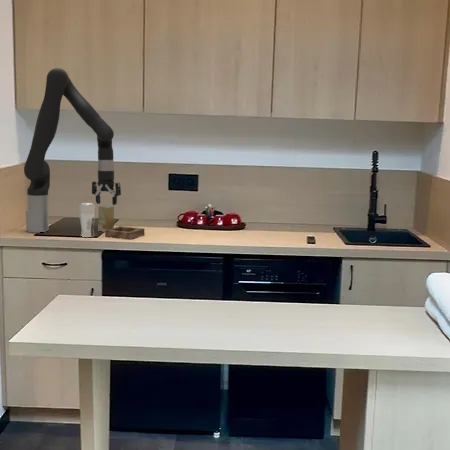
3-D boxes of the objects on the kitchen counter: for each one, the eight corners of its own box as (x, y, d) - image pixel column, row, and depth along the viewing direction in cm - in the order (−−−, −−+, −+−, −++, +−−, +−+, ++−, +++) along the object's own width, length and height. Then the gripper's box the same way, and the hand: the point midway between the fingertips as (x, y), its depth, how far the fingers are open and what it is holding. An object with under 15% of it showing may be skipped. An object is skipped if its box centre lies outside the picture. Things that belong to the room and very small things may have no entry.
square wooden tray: (105, 236, 280) (105, 229, 280) (119, 232, 292) (119, 225, 292) (130, 239, 276) (130, 232, 275) (144, 235, 288) (144, 228, 287)
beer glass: (97, 235, 283) (97, 203, 280) (92, 238, 276) (92, 205, 273) (82, 234, 283) (82, 202, 281) (77, 237, 276) (77, 204, 274)
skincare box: (97, 231, 293) (97, 206, 291) (103, 230, 296) (103, 205, 294) (108, 233, 290) (108, 207, 288) (114, 231, 294) (114, 206, 292)
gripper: (88, 169, 287) (88, 204, 290) (115, 170, 282) (115, 206, 285) (97, 168, 294) (97, 202, 297) (123, 169, 289) (123, 204, 292)
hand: (106, 204), depth 291 cm, fingers open, 8 cm apart
